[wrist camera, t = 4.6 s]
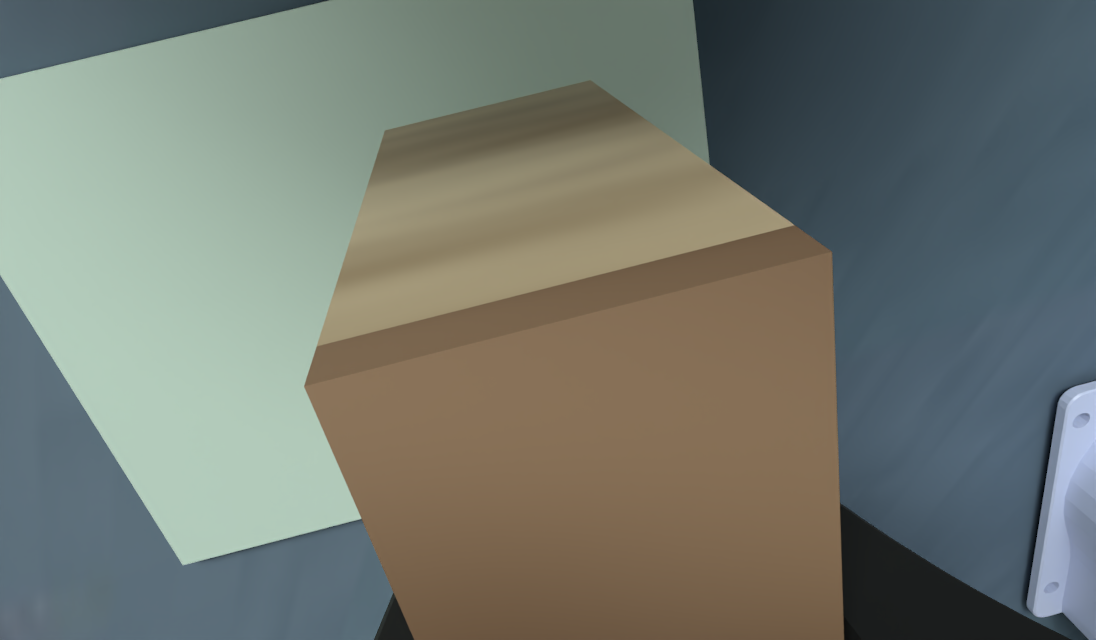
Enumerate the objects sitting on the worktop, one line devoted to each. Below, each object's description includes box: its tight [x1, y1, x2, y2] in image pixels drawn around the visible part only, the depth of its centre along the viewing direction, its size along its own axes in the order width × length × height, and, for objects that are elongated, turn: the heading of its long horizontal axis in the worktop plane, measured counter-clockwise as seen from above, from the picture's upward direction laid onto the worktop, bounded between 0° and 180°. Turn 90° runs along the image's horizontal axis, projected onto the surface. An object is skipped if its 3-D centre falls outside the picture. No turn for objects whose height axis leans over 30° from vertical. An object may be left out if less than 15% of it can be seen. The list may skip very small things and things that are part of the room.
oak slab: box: [304, 80, 844, 640], centre depth 10 cm, size 10×3×8 cm, turn 12°
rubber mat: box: [0, 0, 710, 565], centre depth 16 cm, size 12×15×1 cm
